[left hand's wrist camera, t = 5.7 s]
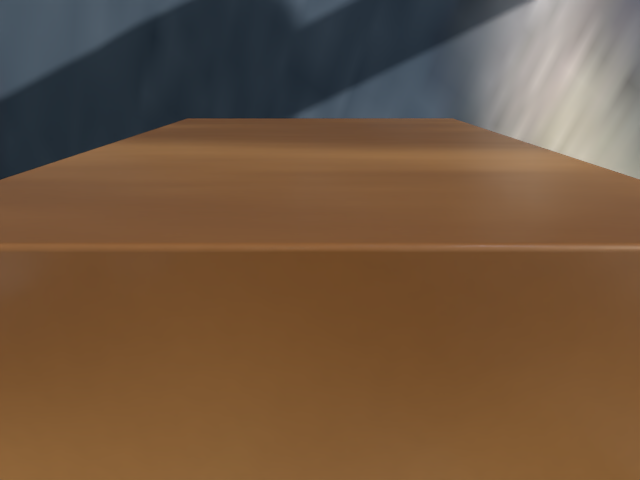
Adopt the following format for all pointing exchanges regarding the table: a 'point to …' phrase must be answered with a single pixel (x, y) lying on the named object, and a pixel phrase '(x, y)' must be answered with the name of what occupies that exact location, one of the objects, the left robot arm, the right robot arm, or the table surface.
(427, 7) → the table surface
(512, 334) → the box
